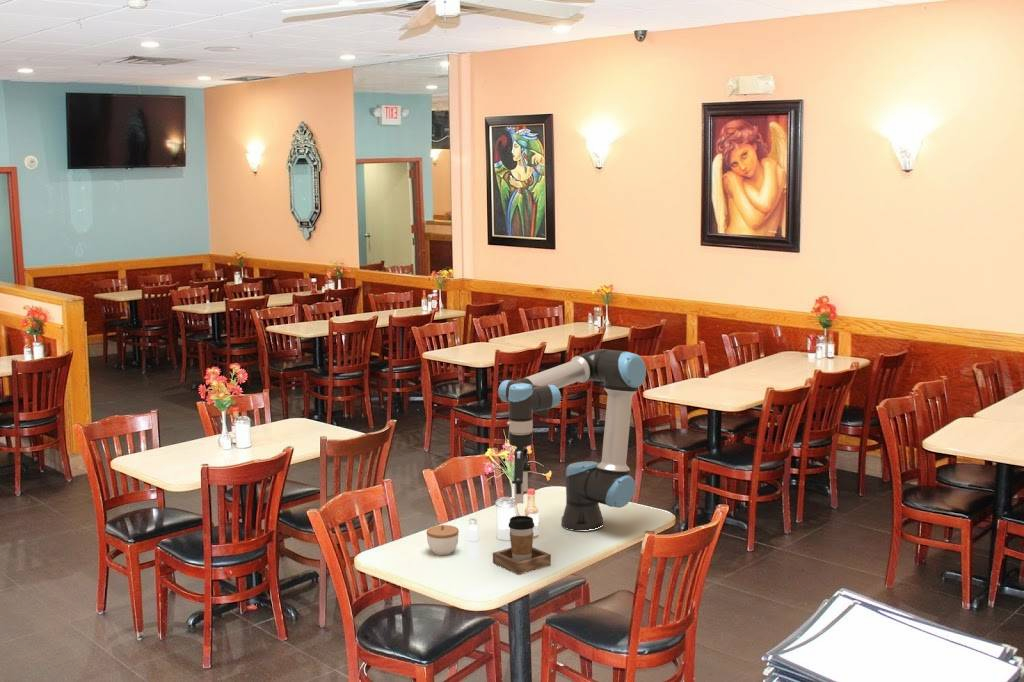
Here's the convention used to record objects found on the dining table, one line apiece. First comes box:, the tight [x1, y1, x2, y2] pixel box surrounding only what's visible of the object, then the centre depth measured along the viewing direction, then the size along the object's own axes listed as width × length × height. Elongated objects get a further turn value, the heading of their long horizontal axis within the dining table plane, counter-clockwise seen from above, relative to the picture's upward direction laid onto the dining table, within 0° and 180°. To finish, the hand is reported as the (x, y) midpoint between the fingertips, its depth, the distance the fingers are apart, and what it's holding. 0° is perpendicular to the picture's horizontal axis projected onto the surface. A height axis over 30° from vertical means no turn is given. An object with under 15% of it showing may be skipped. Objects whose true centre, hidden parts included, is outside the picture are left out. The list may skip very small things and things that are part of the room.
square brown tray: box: [492, 546, 552, 576], centre depth 341 cm, size 13×13×4 cm
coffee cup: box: [508, 515, 535, 562], centre depth 340 cm, size 8×8×15 cm
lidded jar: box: [426, 524, 460, 556], centre depth 353 cm, size 11×11×9 cm
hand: (521, 496), depth 338 cm, fingers open, 13 cm apart
